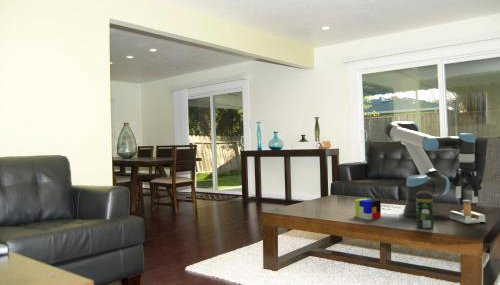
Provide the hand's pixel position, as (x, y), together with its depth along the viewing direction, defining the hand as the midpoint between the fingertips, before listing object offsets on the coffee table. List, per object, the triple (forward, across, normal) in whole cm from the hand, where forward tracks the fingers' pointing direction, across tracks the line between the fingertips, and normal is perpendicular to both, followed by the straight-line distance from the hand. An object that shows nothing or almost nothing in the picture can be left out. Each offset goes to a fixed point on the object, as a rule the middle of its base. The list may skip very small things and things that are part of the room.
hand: (466, 200), depth 215 cm
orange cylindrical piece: (+11, -1, 0) cm, 11 cm away
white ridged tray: (+11, 0, -1) cm, 11 cm away
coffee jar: (+11, -10, +30) cm, 33 cm away
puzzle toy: (+12, +19, +48) cm, 53 cm away
